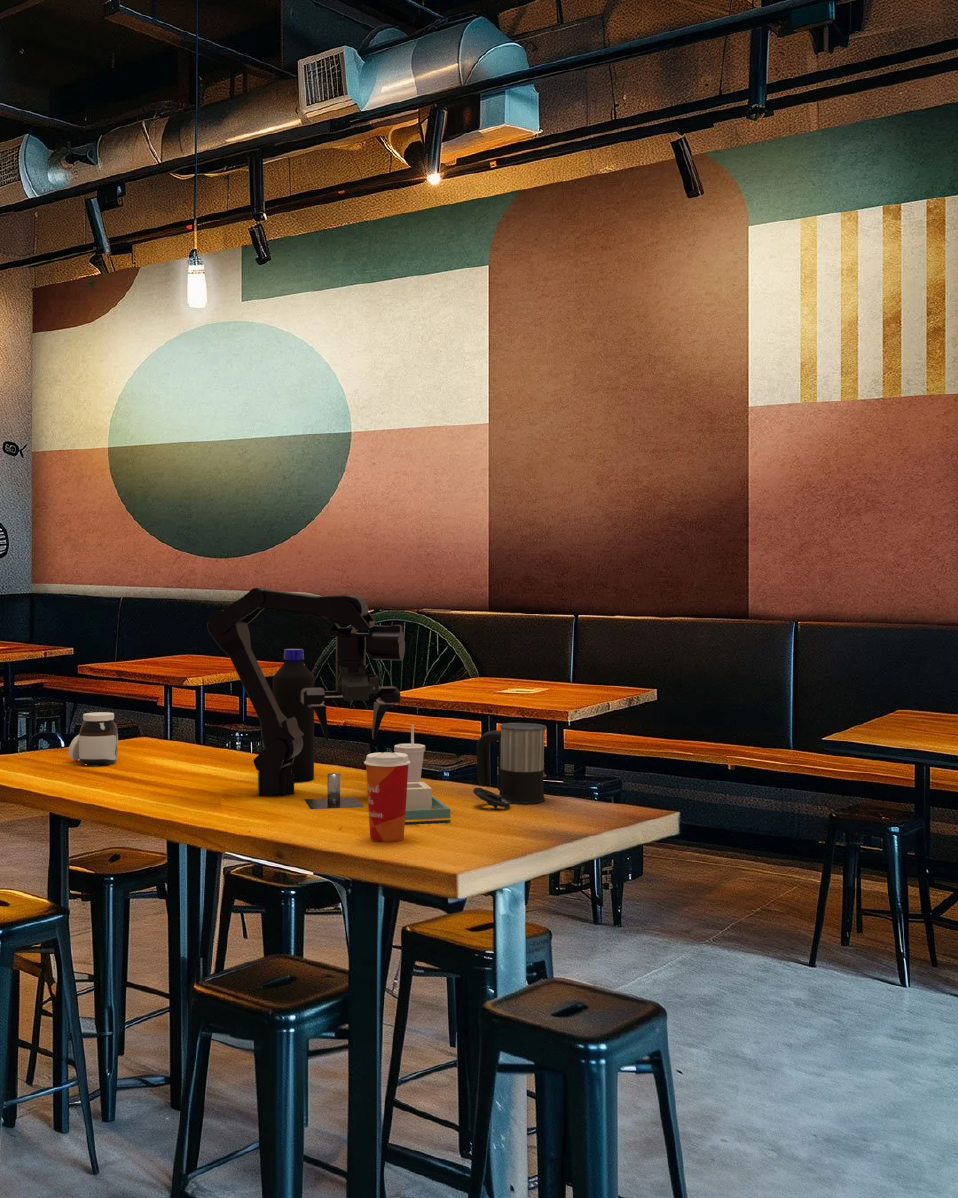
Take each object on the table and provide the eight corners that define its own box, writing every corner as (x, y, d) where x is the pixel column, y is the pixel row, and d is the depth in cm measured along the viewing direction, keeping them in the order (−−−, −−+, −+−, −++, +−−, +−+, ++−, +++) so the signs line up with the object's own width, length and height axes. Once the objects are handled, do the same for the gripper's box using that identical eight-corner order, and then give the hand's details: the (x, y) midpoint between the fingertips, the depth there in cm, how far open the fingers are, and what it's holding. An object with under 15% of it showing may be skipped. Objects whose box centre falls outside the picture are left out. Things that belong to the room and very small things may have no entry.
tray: (381, 826, 209) (381, 812, 209) (369, 812, 221) (369, 799, 221) (450, 823, 212) (450, 809, 212) (434, 809, 224) (434, 796, 224)
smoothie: (420, 797, 238) (421, 726, 237) (389, 795, 239) (390, 725, 239) (428, 791, 244) (429, 722, 244) (398, 790, 245) (398, 721, 245)
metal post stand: (310, 814, 219) (310, 779, 219) (304, 804, 229) (304, 770, 229) (364, 812, 222) (364, 777, 222) (355, 802, 231) (356, 768, 231)
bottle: (264, 781, 255) (265, 650, 254) (286, 774, 263) (286, 647, 262) (300, 784, 251) (301, 651, 251) (321, 777, 260) (321, 648, 259)
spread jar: (108, 767, 272) (108, 716, 272) (58, 767, 272) (58, 716, 272) (124, 759, 284) (124, 710, 284) (77, 759, 284) (77, 710, 284)
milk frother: (544, 796, 239) (545, 722, 239) (548, 811, 223) (549, 732, 223) (473, 796, 239) (473, 722, 239) (472, 811, 223) (473, 732, 223)
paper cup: (364, 833, 203) (364, 751, 203) (409, 833, 204) (409, 751, 204) (363, 844, 195) (363, 758, 195) (410, 843, 196) (411, 758, 196)
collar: (386, 810, 219) (386, 783, 219) (423, 808, 221) (423, 782, 221) (393, 818, 213) (393, 790, 212) (431, 816, 214) (431, 788, 214)
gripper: (307, 663, 221) (307, 747, 222) (406, 661, 226) (405, 744, 227) (300, 659, 232) (300, 739, 232) (395, 658, 237) (394, 736, 237)
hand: (350, 739), depth 232 cm, fingers open, 9 cm apart
